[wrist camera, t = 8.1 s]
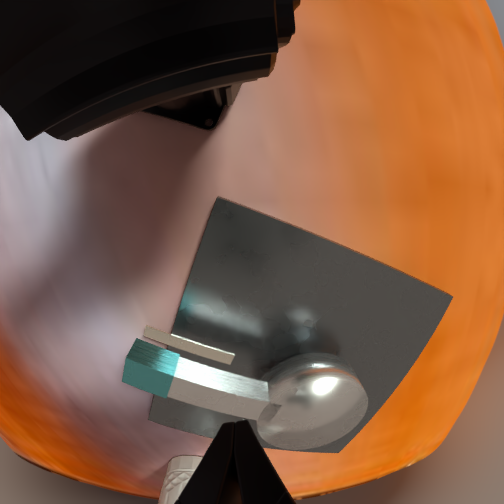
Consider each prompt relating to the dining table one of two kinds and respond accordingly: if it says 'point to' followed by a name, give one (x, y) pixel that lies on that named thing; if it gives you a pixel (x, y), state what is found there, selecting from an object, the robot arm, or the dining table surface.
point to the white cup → (177, 477)
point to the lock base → (292, 313)
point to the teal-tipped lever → (261, 393)
